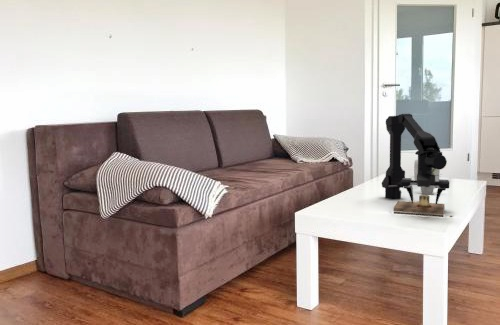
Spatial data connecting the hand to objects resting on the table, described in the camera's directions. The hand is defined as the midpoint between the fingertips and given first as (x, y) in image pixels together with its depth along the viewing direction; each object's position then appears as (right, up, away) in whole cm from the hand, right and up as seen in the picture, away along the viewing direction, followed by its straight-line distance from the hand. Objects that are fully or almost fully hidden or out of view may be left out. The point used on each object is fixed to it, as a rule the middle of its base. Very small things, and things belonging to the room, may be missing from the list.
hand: (424, 203), depth 191 cm
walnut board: (+1, -3, +6) cm, 7 cm away
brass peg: (0, -4, 0) cm, 4 cm away
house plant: (+17, +1, +38) cm, 41 cm away
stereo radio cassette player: (+26, +4, +65) cm, 70 cm away
